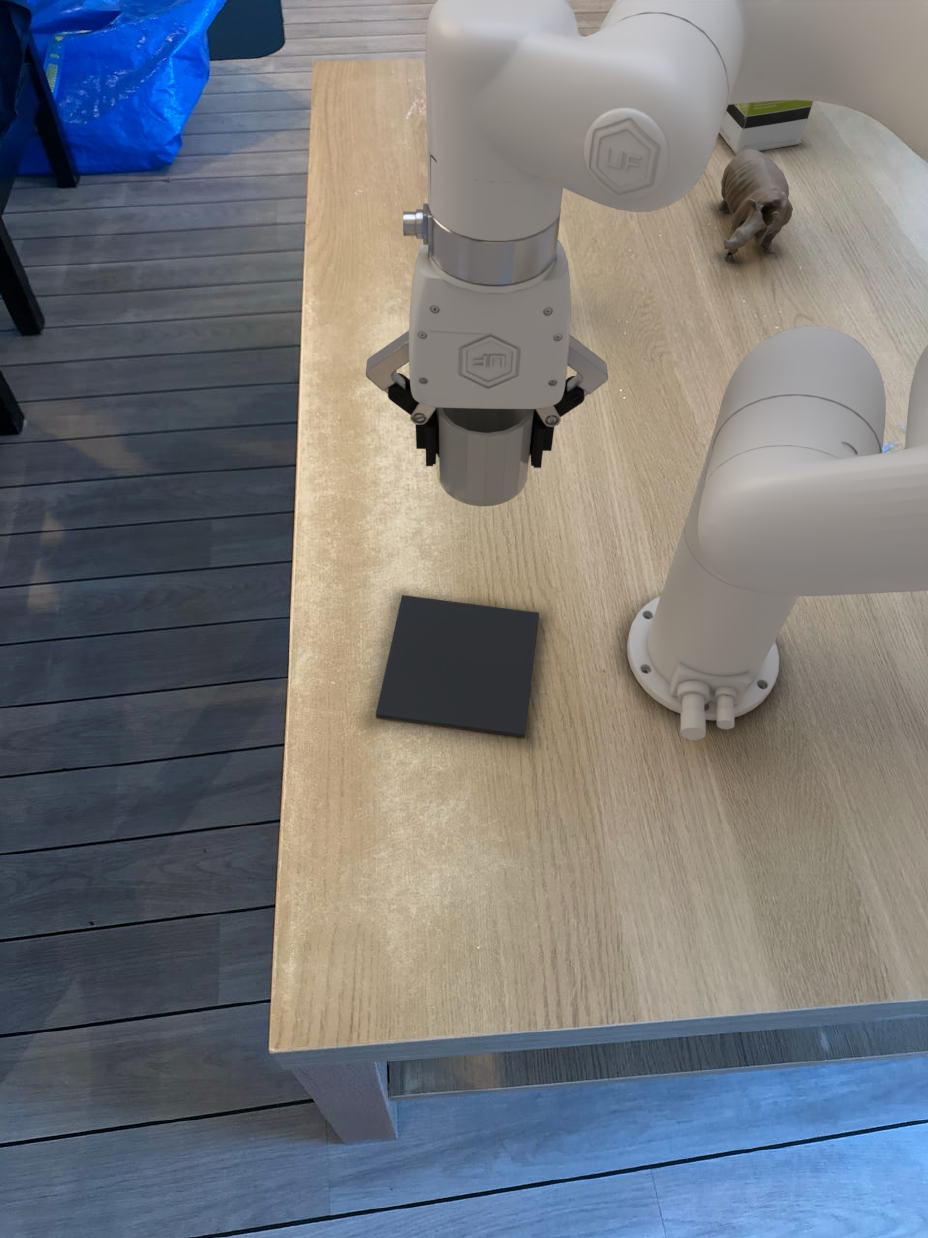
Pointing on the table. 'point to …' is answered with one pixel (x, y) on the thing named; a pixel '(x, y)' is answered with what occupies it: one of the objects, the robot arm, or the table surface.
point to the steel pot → (483, 453)
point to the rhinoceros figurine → (754, 201)
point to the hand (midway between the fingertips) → (483, 451)
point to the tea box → (765, 124)
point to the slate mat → (460, 666)
